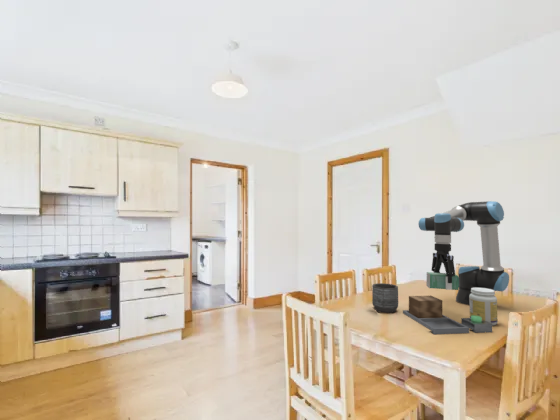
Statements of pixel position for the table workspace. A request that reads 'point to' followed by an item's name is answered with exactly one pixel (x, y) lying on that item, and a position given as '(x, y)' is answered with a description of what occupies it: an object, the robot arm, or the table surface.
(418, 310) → the walnut block
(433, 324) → the grey divided tray
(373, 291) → the planter
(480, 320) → the button
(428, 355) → the table surface
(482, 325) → the square metal sleeve
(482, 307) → the supplement tub
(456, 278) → the box
